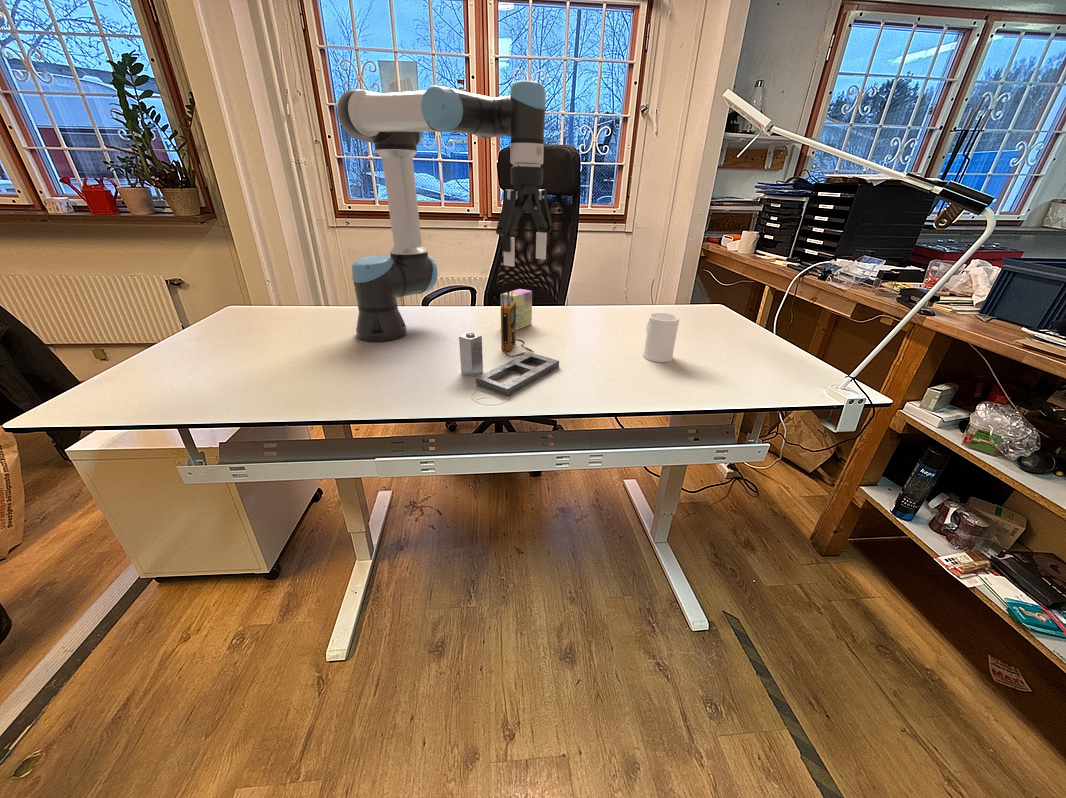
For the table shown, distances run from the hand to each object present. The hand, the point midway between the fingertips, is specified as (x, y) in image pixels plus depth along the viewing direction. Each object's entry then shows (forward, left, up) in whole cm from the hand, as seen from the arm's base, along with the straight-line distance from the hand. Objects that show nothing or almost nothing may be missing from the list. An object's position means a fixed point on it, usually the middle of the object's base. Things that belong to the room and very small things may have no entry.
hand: (525, 262), depth 106 cm
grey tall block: (-5, -15, -26) cm, 31 cm away
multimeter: (-6, +7, -27) cm, 28 cm away
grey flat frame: (+6, -9, -26) cm, 29 cm away
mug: (+28, +28, -27) cm, 47 cm away
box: (-20, +23, -27) cm, 41 cm away
